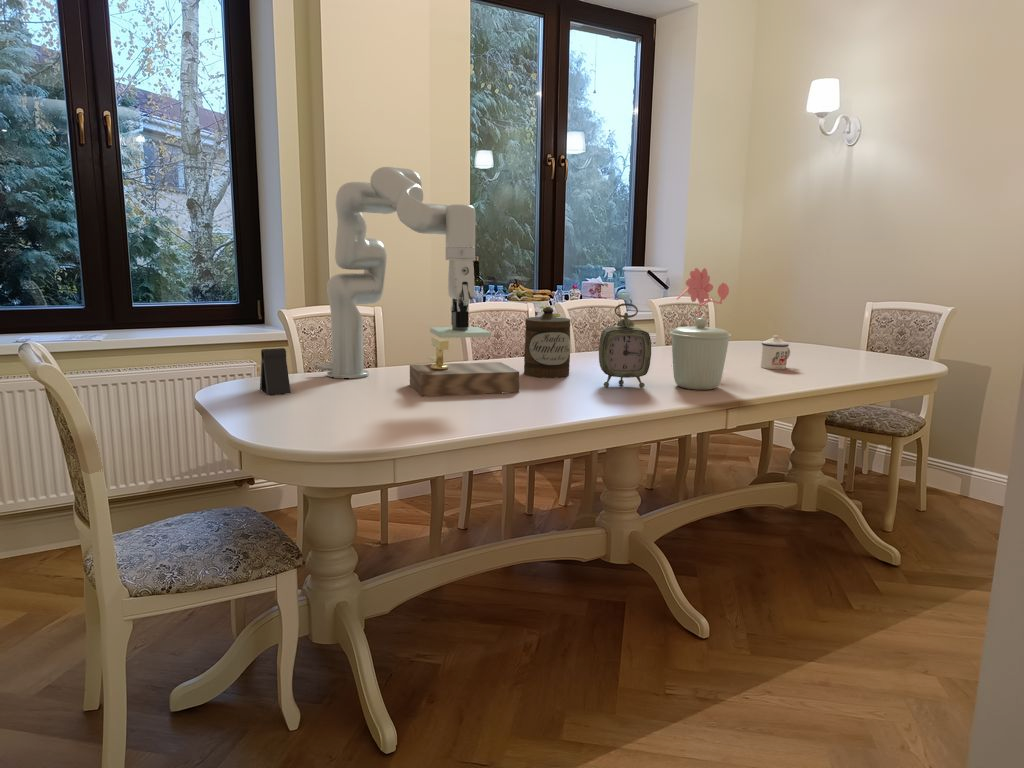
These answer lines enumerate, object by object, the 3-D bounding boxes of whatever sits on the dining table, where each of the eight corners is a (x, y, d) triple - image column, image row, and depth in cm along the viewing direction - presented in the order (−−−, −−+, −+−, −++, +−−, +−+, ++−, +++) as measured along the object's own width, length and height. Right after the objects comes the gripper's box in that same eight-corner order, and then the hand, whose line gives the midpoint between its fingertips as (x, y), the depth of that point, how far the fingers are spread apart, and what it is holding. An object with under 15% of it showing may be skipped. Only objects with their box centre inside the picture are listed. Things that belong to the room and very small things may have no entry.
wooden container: (530, 378, 235) (532, 308, 231) (518, 370, 249) (520, 304, 245) (575, 377, 238) (577, 308, 234) (561, 369, 253) (563, 305, 249)
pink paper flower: (684, 360, 280) (689, 266, 273) (735, 371, 257) (741, 269, 251) (652, 363, 273) (656, 266, 266) (701, 375, 250) (706, 269, 243)
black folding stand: (259, 390, 208) (258, 347, 205) (281, 388, 211) (280, 346, 209) (268, 395, 200) (266, 351, 198) (290, 393, 203) (289, 350, 201)
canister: (654, 386, 226) (658, 316, 222) (687, 379, 239) (691, 314, 235) (707, 395, 213) (712, 322, 210) (738, 388, 226) (744, 318, 222)
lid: (440, 337, 185) (441, 315, 184) (430, 332, 197) (430, 310, 196) (491, 337, 189) (491, 314, 188) (477, 331, 201) (477, 310, 200)
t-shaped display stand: (452, 371, 209) (452, 341, 207) (435, 371, 207) (435, 341, 205) (439, 362, 223) (439, 334, 221) (423, 363, 221) (423, 335, 219)
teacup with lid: (773, 370, 261) (776, 337, 259) (754, 366, 269) (757, 334, 267) (798, 368, 266) (801, 336, 264) (778, 364, 274) (781, 333, 272)
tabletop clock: (600, 388, 220) (604, 304, 216) (596, 383, 229) (599, 301, 225) (649, 389, 221) (654, 305, 216) (642, 383, 230) (647, 302, 225)
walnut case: (421, 396, 203) (421, 375, 202) (409, 384, 220) (409, 364, 219) (518, 392, 212) (519, 371, 211) (500, 381, 228) (500, 362, 227)
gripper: (483, 255, 182) (482, 329, 186) (466, 254, 198) (465, 323, 201) (453, 254, 180) (453, 330, 183) (438, 253, 196) (438, 323, 199)
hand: (459, 325), depth 192 cm, fingers closed on lid, 4 cm apart
